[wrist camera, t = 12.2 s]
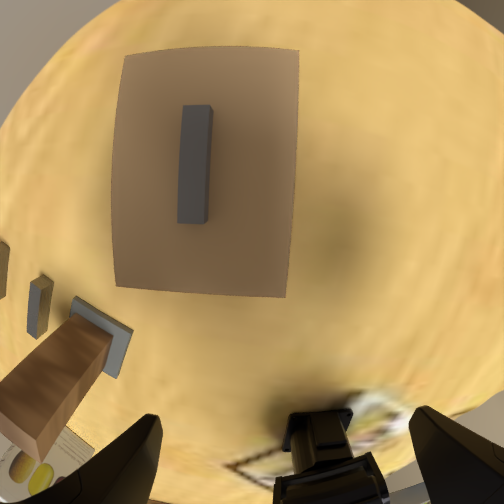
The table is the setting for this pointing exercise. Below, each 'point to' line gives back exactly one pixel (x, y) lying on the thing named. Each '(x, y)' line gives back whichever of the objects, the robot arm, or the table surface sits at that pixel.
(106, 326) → the pad
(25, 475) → the supplement box
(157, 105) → the toolbox
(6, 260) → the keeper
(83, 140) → the table surface
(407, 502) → the tray
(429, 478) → the robot arm
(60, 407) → the brown block
